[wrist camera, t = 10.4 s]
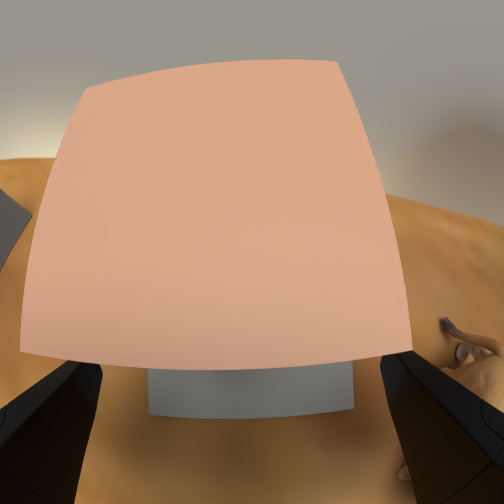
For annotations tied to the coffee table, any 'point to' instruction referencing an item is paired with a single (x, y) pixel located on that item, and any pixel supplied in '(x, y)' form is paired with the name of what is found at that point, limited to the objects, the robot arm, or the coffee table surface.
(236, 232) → the salmon pink tall block
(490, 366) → the lion figurine
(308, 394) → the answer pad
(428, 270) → the coffee table surface
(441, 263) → the coffee table surface
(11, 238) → the screen
